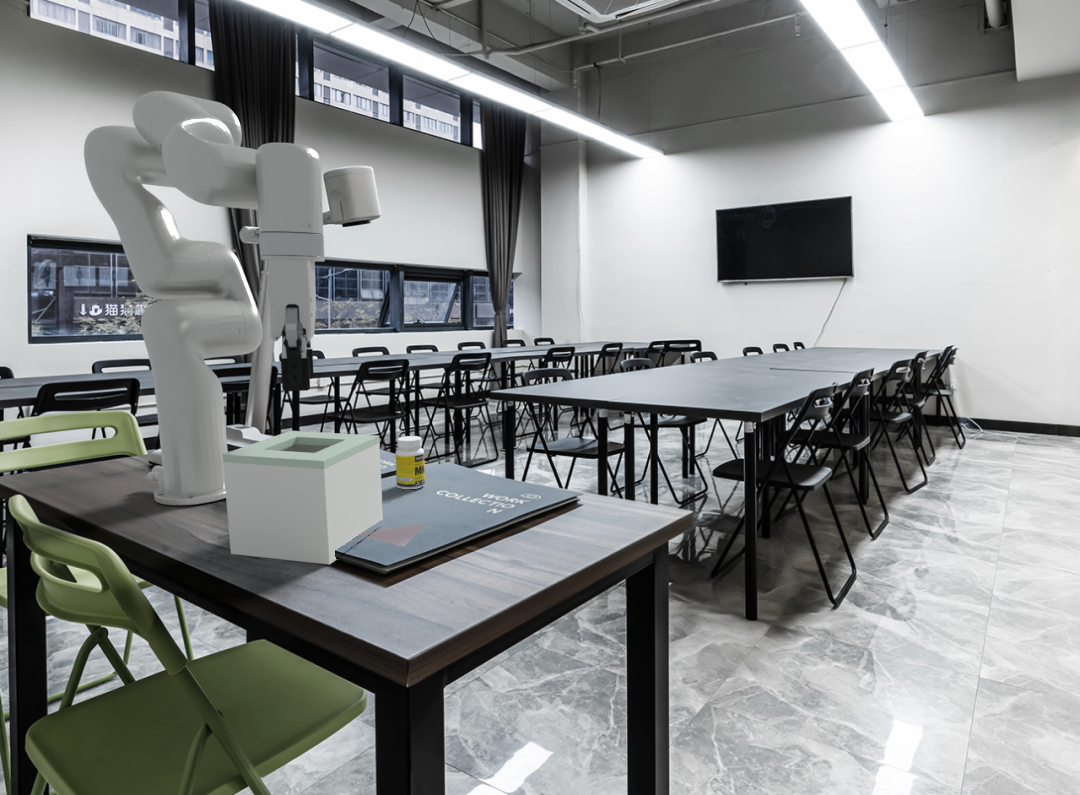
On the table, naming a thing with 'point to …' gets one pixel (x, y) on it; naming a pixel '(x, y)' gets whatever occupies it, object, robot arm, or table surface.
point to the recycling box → (302, 494)
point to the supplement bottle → (410, 463)
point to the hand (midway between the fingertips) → (299, 384)
